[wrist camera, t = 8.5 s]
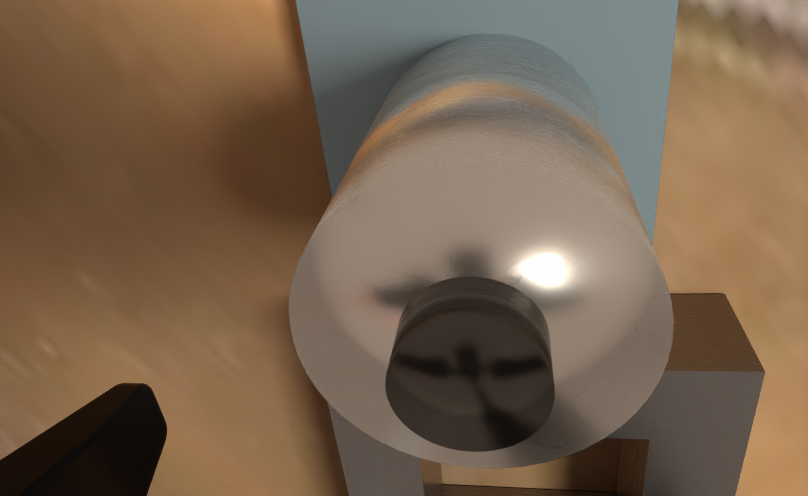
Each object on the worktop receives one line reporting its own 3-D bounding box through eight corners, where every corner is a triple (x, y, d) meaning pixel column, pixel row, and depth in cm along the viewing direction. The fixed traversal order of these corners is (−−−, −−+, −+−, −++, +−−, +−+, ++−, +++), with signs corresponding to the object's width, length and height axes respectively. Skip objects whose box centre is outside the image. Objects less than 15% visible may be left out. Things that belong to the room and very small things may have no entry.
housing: (679, 538, 25) (703, 628, 22) (388, 521, 27) (373, 601, 24) (724, 294, 19) (764, 371, 16) (345, 296, 21) (319, 366, 18)
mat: (641, 267, 19) (648, 286, 18) (355, 271, 21) (348, 289, 20) (674, -59, 14) (684, -55, 14) (303, -22, 16) (292, -16, 15)
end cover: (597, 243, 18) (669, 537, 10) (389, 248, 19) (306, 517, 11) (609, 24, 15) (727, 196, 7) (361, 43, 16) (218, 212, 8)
